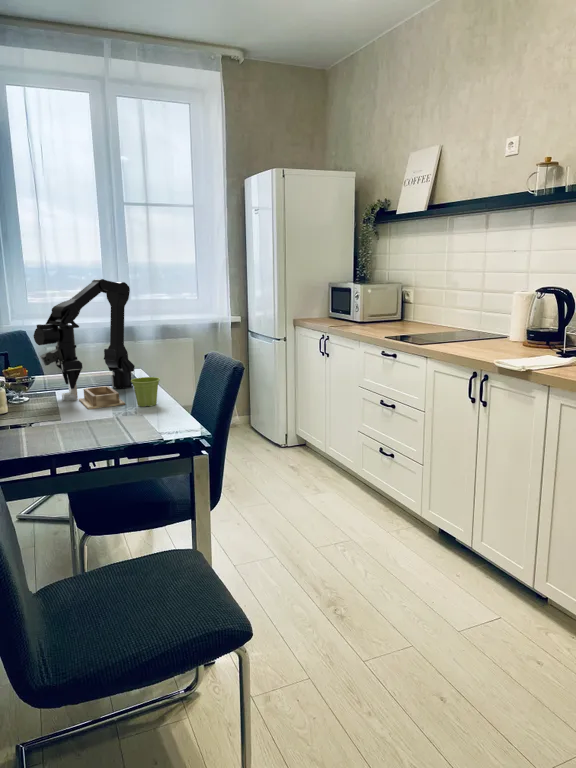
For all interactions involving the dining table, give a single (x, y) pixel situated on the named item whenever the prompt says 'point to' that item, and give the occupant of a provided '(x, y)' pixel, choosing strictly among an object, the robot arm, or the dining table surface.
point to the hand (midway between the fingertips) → (69, 386)
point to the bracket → (70, 394)
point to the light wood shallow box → (100, 397)
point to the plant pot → (146, 390)
